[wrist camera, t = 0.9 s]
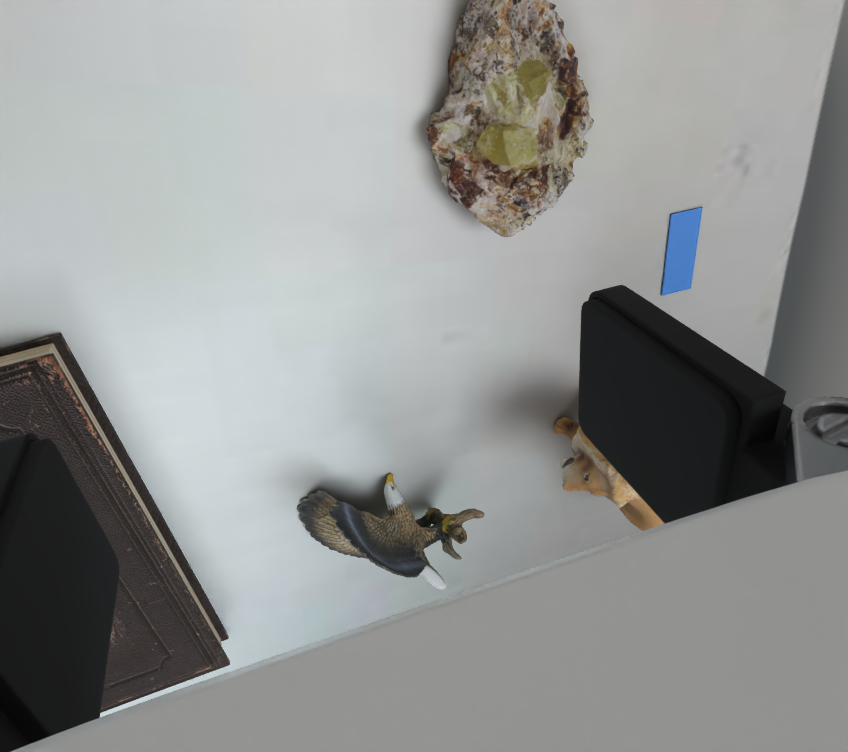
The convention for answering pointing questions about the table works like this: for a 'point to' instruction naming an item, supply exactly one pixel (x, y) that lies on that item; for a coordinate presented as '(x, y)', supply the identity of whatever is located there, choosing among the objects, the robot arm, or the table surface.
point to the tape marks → (681, 250)
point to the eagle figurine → (385, 532)
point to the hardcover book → (116, 526)
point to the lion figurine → (601, 477)
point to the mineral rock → (510, 113)
